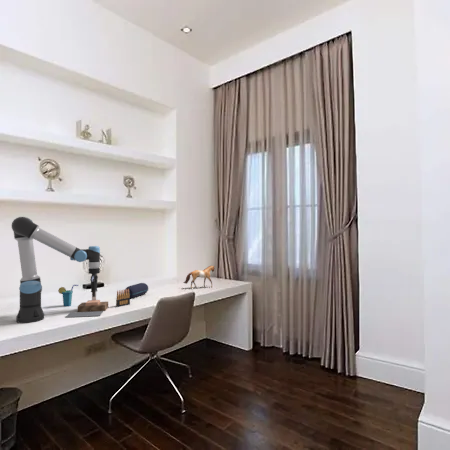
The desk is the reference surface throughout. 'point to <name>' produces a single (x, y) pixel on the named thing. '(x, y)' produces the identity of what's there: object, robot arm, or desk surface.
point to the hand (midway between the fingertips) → (94, 301)
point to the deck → (92, 307)
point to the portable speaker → (137, 290)
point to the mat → (84, 314)
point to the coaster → (92, 302)
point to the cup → (66, 295)
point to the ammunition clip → (122, 298)
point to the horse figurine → (200, 275)
